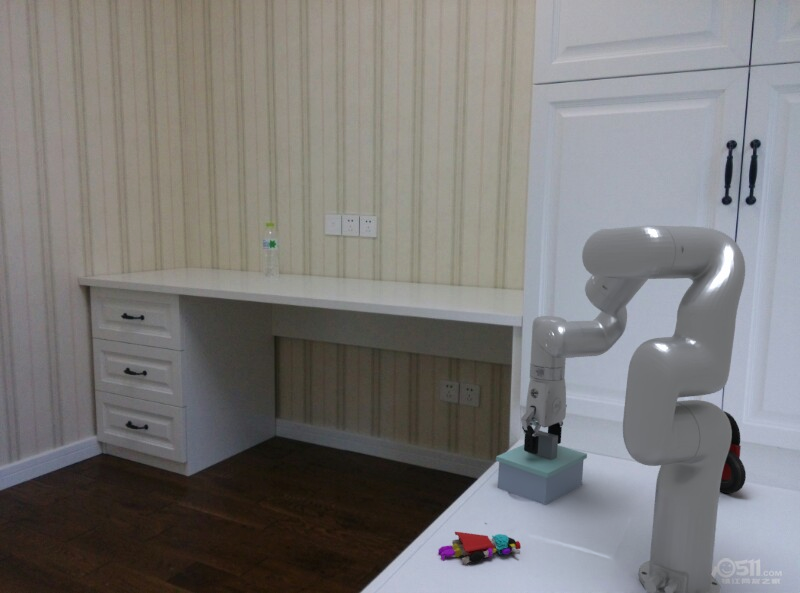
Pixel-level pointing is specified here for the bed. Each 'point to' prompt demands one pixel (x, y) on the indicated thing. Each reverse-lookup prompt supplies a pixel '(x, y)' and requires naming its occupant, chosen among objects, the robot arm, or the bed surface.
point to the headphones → (733, 463)
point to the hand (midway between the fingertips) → (542, 447)
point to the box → (539, 482)
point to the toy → (479, 547)
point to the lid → (543, 457)
